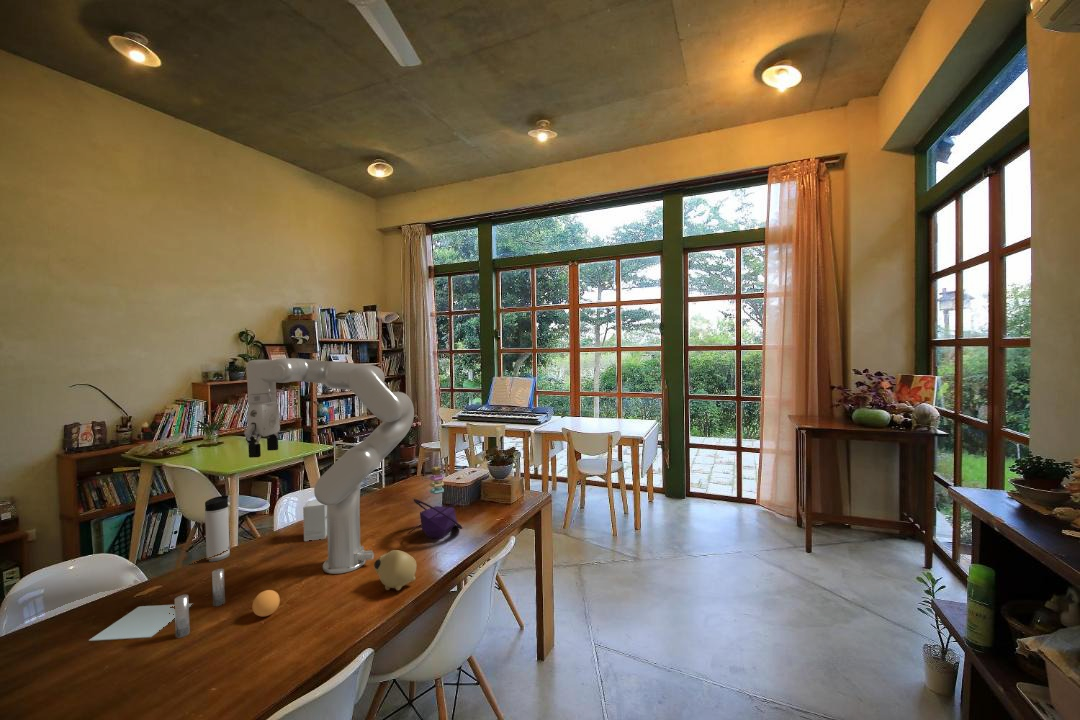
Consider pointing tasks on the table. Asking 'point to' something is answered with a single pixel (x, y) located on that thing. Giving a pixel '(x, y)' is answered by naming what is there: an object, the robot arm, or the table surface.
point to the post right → (218, 587)
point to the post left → (182, 616)
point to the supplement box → (315, 520)
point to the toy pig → (395, 569)
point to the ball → (266, 603)
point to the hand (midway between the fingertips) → (264, 453)
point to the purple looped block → (437, 512)
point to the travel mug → (217, 528)
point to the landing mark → (139, 623)
